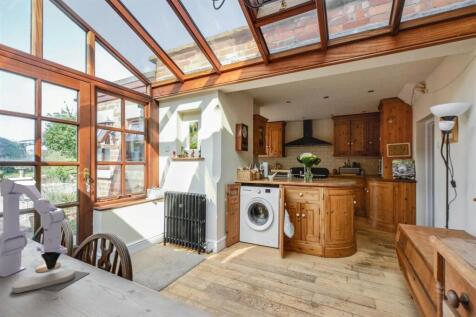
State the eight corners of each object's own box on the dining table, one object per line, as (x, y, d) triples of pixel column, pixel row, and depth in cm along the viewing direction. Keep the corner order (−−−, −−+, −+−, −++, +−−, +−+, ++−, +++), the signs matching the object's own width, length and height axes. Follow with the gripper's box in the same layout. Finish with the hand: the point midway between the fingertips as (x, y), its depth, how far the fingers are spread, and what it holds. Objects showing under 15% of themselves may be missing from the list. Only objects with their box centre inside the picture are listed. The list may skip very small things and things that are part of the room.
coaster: (30, 271, 96) (30, 270, 96) (51, 262, 105) (51, 261, 105) (45, 273, 94) (45, 272, 94) (65, 264, 103) (65, 263, 103)
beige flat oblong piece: (15, 285, 84) (8, 296, 77) (16, 279, 84) (8, 290, 77) (75, 272, 95) (73, 280, 88) (76, 267, 95) (73, 275, 88)
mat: (33, 287, 83) (33, 287, 83) (68, 270, 97) (68, 269, 97) (57, 291, 81) (57, 290, 81) (89, 273, 95) (89, 272, 95)
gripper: (29, 239, 88) (27, 271, 88) (56, 242, 85) (54, 275, 85) (47, 234, 95) (45, 263, 95) (72, 236, 92) (71, 266, 92)
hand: (51, 268), depth 90 cm, fingers closed
